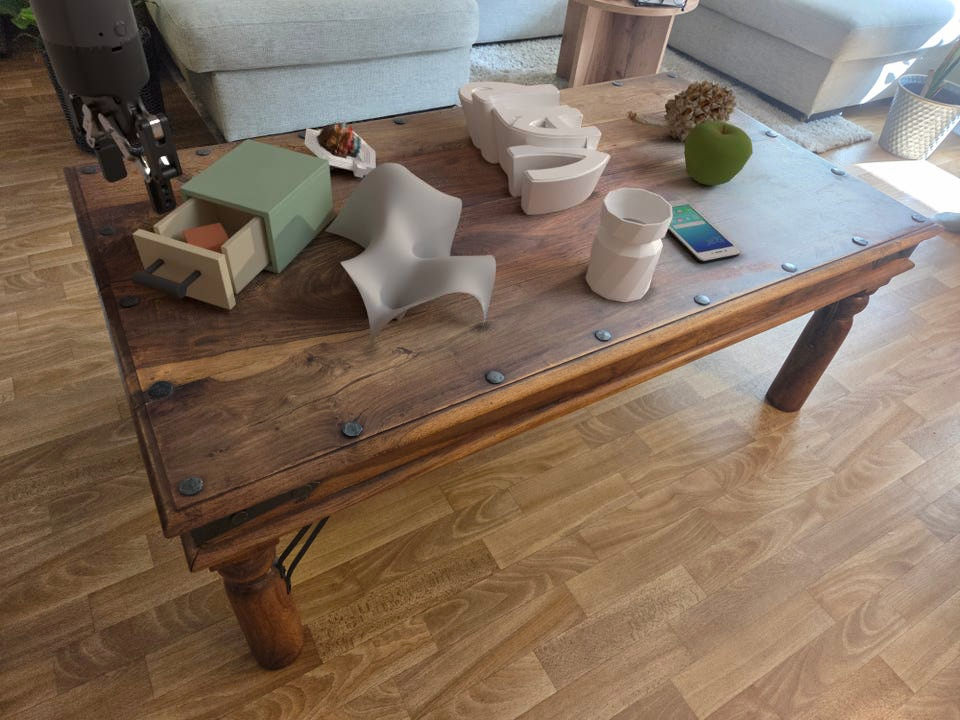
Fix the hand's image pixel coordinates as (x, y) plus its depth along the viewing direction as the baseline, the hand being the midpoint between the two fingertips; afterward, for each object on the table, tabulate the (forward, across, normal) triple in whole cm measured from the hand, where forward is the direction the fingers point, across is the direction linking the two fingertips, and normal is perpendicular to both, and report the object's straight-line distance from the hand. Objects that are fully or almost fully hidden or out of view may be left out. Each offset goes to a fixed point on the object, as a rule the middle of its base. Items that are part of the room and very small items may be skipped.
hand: (140, 194), depth 68 cm
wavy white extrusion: (+15, +11, +58) cm, 61 cm away
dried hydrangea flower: (+15, +23, +88) cm, 93 cm away
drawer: (+15, -1, +6) cm, 16 cm away
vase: (+15, +37, +42) cm, 58 cm away
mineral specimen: (+15, -12, +38) cm, 43 cm away
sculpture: (+16, +15, +24) cm, 33 cm away
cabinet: (+15, -5, +18) cm, 24 cm away
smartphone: (+15, +39, +61) cm, 74 cm away
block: (+14, -2, +7) cm, 15 cm away
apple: (+15, +34, +78) cm, 87 cm away
